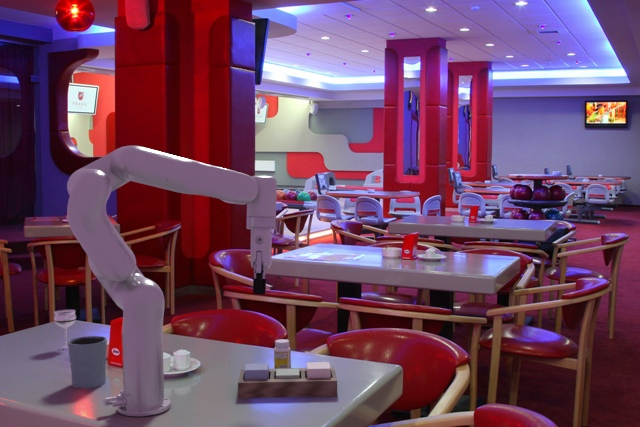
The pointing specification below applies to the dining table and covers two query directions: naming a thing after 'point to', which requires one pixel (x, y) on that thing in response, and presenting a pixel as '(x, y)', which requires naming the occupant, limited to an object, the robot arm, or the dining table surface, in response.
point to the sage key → (287, 373)
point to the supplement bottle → (282, 354)
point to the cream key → (318, 370)
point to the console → (287, 386)
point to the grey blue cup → (88, 361)
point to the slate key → (257, 371)
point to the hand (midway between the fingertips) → (259, 293)
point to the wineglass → (65, 320)
